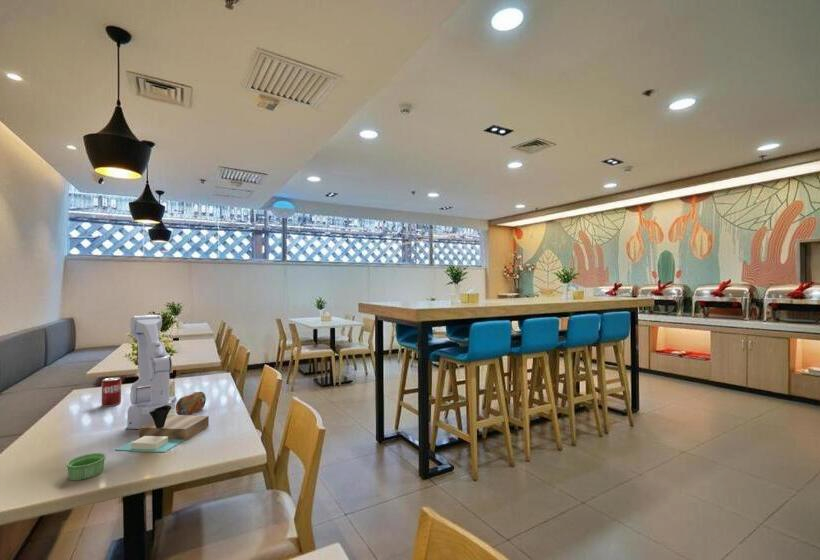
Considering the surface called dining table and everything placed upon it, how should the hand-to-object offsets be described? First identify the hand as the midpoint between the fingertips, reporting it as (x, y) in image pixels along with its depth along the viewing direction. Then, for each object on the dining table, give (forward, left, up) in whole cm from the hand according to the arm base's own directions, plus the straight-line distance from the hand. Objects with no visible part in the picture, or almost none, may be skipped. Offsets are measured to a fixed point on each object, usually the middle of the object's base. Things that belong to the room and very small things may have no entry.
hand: (159, 427), depth 140 cm
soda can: (-53, +37, -5) cm, 65 cm away
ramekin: (-4, -25, -5) cm, 26 cm away
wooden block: (0, +8, -5) cm, 9 cm away
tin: (-8, +29, -5) cm, 31 cm away
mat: (0, -4, -5) cm, 6 cm away
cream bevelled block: (0, -5, -2) cm, 6 cm away
